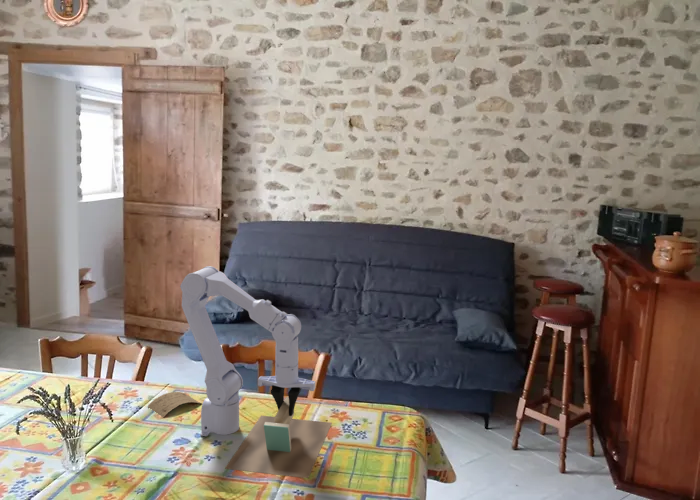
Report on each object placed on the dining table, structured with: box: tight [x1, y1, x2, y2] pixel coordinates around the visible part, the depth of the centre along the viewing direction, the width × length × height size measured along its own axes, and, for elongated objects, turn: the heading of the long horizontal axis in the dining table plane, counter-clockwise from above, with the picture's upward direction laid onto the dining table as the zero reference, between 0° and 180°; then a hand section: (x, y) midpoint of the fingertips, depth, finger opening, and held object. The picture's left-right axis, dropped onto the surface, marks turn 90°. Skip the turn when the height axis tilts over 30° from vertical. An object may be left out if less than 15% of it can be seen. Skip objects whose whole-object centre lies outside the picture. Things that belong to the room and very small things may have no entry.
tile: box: [264, 422, 291, 452], centre depth 149 cm, size 6×1×8 cm, turn 81°
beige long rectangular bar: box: [274, 396, 295, 424], centre depth 155 cm, size 2×11×5 cm, turn 171°
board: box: [224, 415, 332, 479], centre depth 154 cm, size 20×28×1 cm
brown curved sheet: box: [147, 391, 203, 418], centre depth 177 cm, size 14×10×3 cm
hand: (286, 413), depth 157 cm, fingers closed on beige long rectangular bar, 2 cm apart
